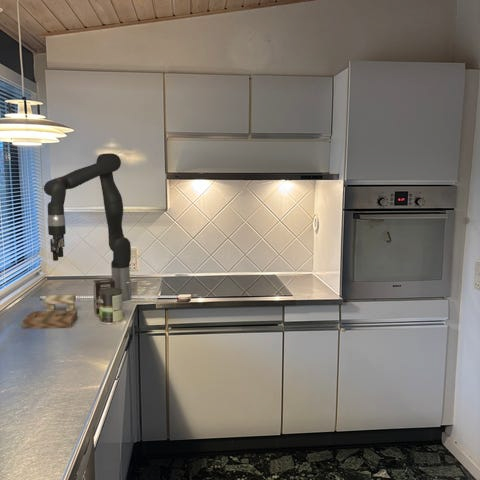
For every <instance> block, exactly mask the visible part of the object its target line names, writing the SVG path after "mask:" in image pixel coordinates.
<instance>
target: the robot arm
mask: <svg viewBox="0 0 480 480" xmlns="http://www.w3.org/2000/svg"><path fill="white" fill-rule="evenodd" d="M121 164H122V161H121V158H120V156H119V155H117V154H115V153H112V152H109V153H107V152H106V153H101V154H99V155H98V156H97V158H96V163H94V164H91V165H87V166H85V167H81V168H78V169H75V170H74V171H70V172H69V173H67V174H65V175H62V176H59V177H55V178H53V179H50V180H47V182H45V184H44V186H43V191H44V193H45V194H46V195H47V196H49V197H50V202H49V201H48V203H47V231H48V232H47V233H48V236H52V238H50V240H49V241H50V242H49V243H50V245H49V246H50V252H51V253H52V260H53V261H54V262H55V261H56V262H57V261H59V258H63V257H64V248H65V245H66V244H65V235H66V233H67V232H66V231H67V230H66V216H65V206H64V205H65V203H66V202H65V200H66V195H67V190H71V189H75V188H77V187H79V186H81V185H83V184H85V183H87V182H89V181H91V180H94V179H95V178H97V177H99V182H100V185H101V192H102V198H103V199H102V201H103V206H104V213H105V220H106V224H107V231H108V246H109V249H110V250H111V251H112V261H111V279H113V280H114V281H115V288H119V289H122V302H123V301H130V300H131V299H132V298H131V297H132V283H131V282H132V280H131V273H130V272H131V270H130V269H131V267H130V266H131V261H132V256H131V255H132V250H131V248H132V247H131V241H130V240H129V239H128V238H127V237H126V236H125V235H124V231H123V218H124V203H123V198H122V195H121V193H120V190H119V189H118V187H117V185H116V183H115V179H114V173H113V172H116V171H118V170H119V169H120V168H121Z"/></svg>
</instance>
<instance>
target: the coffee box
mask: <svg viewBox="0 0 480 480" xmlns="http://www.w3.org/2000/svg"><path fill="white" fill-rule="evenodd" d="M92 284H93V285H92V286H93V314H94V315H95V316H96V317H100V309H99V290H101V289H105V288H115V281H114V280H113V279H112V278H106V279H105V278H104V279H94V280H93V283H92Z"/></svg>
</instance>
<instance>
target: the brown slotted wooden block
mask: <svg viewBox="0 0 480 480" xmlns="http://www.w3.org/2000/svg"><path fill="white" fill-rule="evenodd" d="M78 317H79V315H78V310H75V311H67V310H55V311H47V310H32V311H30V312H29V314H27V315H26V316H25V317H24V318H23V319H22V329H23V330H27V329H26V328H29V330H30V328H31V330H32V328H34V329H35V330H36V329H37V328H39V329H67V328H66V327H71V328H73V326H74V325H75V323H76V322H77V320H78V319H79V318H78ZM73 324H74V325H73Z"/></svg>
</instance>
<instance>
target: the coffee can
mask: <svg viewBox="0 0 480 480" xmlns="http://www.w3.org/2000/svg"><path fill="white" fill-rule="evenodd" d="M99 309H100V316H99V323H101V324H103V325H117V324H120V323H122V322H123V320H124V319H123V316H124V315H123V301H122V289H119V288H105V289H101V290H99Z"/></svg>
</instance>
